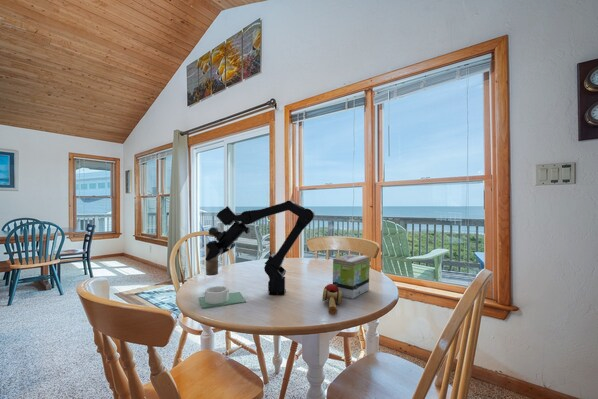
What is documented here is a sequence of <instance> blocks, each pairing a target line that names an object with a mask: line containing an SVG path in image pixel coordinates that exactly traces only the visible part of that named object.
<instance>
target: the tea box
mask: <svg viewBox="0 0 598 399" xmlns="http://www.w3.org/2000/svg"><path fill="white" fill-rule="evenodd" d="M332 284H334V285H336V286H337V287H338V289H339V291H342V297H343V298H347V299H352V300H353V299H355V298H357V297H358V296H360V295H362V294H363V293H366V292H368V291H369V290H370V256H367V255H358V254H351V253H349V254H345V255H342V256H338V257H334V258H333V259H332ZM367 290H368V291H367Z"/></svg>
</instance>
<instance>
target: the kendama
mask: <svg viewBox="0 0 598 399" xmlns="http://www.w3.org/2000/svg"><path fill="white" fill-rule="evenodd" d="M328 300H329V301H328ZM321 301H322V302H326V301H328V313H329V314H330V315H336V314H337V313H338V308H337V305H341V303H342V291H339V289H338V287H337V286H336V285H334V284H333V283H329V284H327V285H326V286H324V289H323V292H322V299H321Z"/></svg>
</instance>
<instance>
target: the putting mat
mask: <svg viewBox="0 0 598 399" xmlns="http://www.w3.org/2000/svg"><path fill="white" fill-rule="evenodd" d="M229 290H230V289H229V287H228V286H225V285H216V286H211V287H207V288H206V289H205V290H204V296H198V297H199V298H198V299H199V302H200V307H201V309H208V308H214V307H215V308H217V307H223V306H224V307H225V306H229V305H237V304H243V303H247V300H246V299H245V297H244V296H243V295H242V293H241V292H240V291H235V292H230V291H229Z"/></svg>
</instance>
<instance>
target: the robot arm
mask: <svg viewBox="0 0 598 399" xmlns="http://www.w3.org/2000/svg"><path fill="white" fill-rule="evenodd" d="M287 211H289V212H291V213H293V214H294V215H295V216H297V219H296V222H295V224H294V226H293V227H292V230H291V231H290V232H289V233H288V235H287V237H286V238H285V240H284V241H283V243H282V244H281V246H280V248H279V249H278V250H277V252H276V253H274V252H272V253H271V254H270V255H269V256H268V259H267V260H266V262H264V267H263V269H264V272H265V274H266V275H267V276H268V278H269V280H268V281H267V282H268V283H267V284H268V286H267V289H268V290H267V291H268V295H271V296H273V295H277V296H278V295H280V296H283V295H285V294H286V291H287V289H286V276H285V275H286V273H287V270H286V269H285V268H284V267H283V266H282V265H283V263H284V261H285V258H286V257H287V254H288V253H289V251H290V250H291V249H292V247H293V245H294V244H295V243H296V242H297V239H298V238H299V237H300V236H301V233H302V232H303V230H305V229H306V227H307V226H308V225H309V224H311V223H312V221H313V220H314V218H315V215H316V214H315V211H314V210H313V209H312V208H309V207H307V208H305V207H303V206H301V205H300V204H298V203H296V202H294V201H293V200H286V201H284V202H280V203H278V204H275V205H271V206H267V207H264V208H261V209H253V210H246V211H245V210H244V211H242V212H241V213H236V212H235V210H233V209H232V208H231V206H229V205H228V206H226V207H224V208H223V209H221V210H220V211H219V212H218V213H217V215H216V218H217V219H218V220H219V221H220V222H221V223H222V224H223V225H224V227H227V226H228V228H227V230H224V229H222V228H220V227H217V226H211V227H210V228H209V229H208V235H210V236H212V237H214V238H215V240H211V241H208V242H207V243H206V244H207V245H206V244H205V247H206V246H207V247H208V248H209V249H210V251H209V253H208V255H207V257H206V256H205V259H204V260H205V262H206V261H208V260H210V259H212V258H214V257H216V256H218V257H219V256H222V254H225V253H227V252H229V251H230V250H233V249H234V248H235V247H236V242H237V241H238V240H239V238H240V237H241V236H242V235H243V234H244V233H245V234H250V233H251V230H250V229H251V227H250V226H247V225H252V224H255V223H256V222H258V221H260V220H262V219H265V218H267V217H270V216H273V215H276V214H281V213H284V212H287Z"/></svg>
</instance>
